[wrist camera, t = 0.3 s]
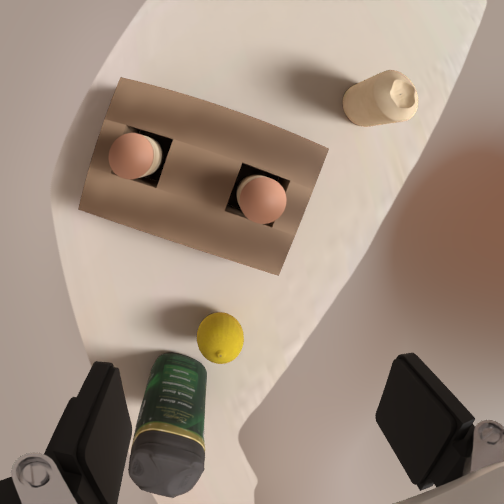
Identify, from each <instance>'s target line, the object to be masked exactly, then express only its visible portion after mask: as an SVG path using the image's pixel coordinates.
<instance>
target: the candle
mask: <svg viewBox="0 0 504 504" xmlns="http://www.w3.org/2000/svg"><path fill="white" fill-rule="evenodd" d="M417 107H418V95H417V91H416V89H415V87H414V85H413V83H412V82H411V81H410V79H409V78H408V77H406V76H405V75H404V74H402V73H400V72H398V71H394V70H388V71H384V72H382V73H379V74H377V75H375V76H373V77H371V78H368V79H366V80H364V81H362V82H360V83H358V84H355V85H354V86H352V87H350V88H349V89H348V90H347V91H346V92H345V94H344V97H343V109H344V112H345V114H346V116H347V117H348V118H349V119H350V120H351V121H352V122H353V123H355V124H356V125H359V126H364V127H368V126H375V125H382V124H389V123H396V122H403V121H407V120H409V119H410V118H412V117H413V116H414V114H415V113H416V110H417Z"/></svg>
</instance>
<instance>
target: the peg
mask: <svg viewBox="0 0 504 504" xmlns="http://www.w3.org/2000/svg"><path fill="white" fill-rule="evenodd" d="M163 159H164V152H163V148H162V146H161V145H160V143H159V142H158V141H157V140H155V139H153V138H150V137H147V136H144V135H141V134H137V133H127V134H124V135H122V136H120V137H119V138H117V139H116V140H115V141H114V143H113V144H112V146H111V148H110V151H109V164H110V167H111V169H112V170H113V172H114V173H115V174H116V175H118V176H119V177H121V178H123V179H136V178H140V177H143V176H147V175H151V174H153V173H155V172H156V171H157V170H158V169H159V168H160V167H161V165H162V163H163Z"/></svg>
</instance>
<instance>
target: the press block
mask: <svg viewBox="0 0 504 504" xmlns="http://www.w3.org/2000/svg"><path fill="white" fill-rule="evenodd" d="M140 130H142V131H145V132H149V133H152V134H155V135H159V136H162V137H165V138H168V139H172V140H173V142H172V144H171V147H170V150H169V153H168V155H167V158H166V161H165V164H164V167H163V170H162V173H161V176H160V179H159V181H156V180H153V179H150V178H147V177H144V176H143V177H140V178H136V179H123V178H121V177H119V176H118V175H116V174H115V173H114V172H113V170H112V169H111V167H110V164H109V151H110V148H111V146H112V144H113V143H114V141H115V140H116V139H117V138H119V137H120V136H122V135H124V134H127V133H137V134H139V132H140ZM328 150H329V149H328V148H326V147H324V146H322V145H320V144H317V143H315V142H313V141H310V140H308V139H306V138H303V137H301V136H299V135H296V134H294V133H292V132H289V131H287V130H284V129H282V128H279V127H277V126H274V125H272V124H269V123H267V122H264V121H261V120H259V119H256V118H253V117H251V116H248V115H245V114H243V113H240V112H237V111H234V110H231V109H228V108H226V107H223V106H220V105H217V104H214V103H211V102H208V101H204V100H201V99H198V98H195V97H192V96H189V95H185V94H182V93H179V92H175V91H172V90H168V89H165V88H161V87H157V86H154V85H150V84H146V83H142V82H138V81H134V80H130V79H126V78H122V77H121V78H120V80H119V82H118V85H117V87H116V90H115V92H114V95H113V98H112V100H111V103H110V105H109V108H108V111H107V114H106V116H105V119H104V122H103V125H102V128H101V131H100V134H99V137H98V140H97V143H96V146H95V149H94V153H93V156H92V159H91V163H90V166H89V170H88V173H87V177H86V180H85V184H84V188H83V192H82V196H81V200H80V204H79V210H82V211H85V212H87V213H90V214H93V215H96V216H99V217H102V218H105V219H108V220H111V221H114V222H117V223H120V224H123V225H126V226H129V227H132V228H134V229H137V230H140V231H143V232H146V233H149V234H152V235H155V236H158V237H161V238H164V239H167V240H170V241H173V242H176V243H179V244H182V245H185V246H188V247H191V248H195V249H198V250H201V251H204V252H207V253H210V254H213V255H216V256H219V257H222V258H225V259H228V260H231V261H234V262H237V263H240V264H244V265H247V266H250V267H253V268H256V269H259V270H262V271H265V272H268V273H271V274H275V275H278V276H279V273H280V271H281V269H282V266H283V264H284V261H285V259H286V256H287V254H288V252H289V249H290V247H291V244H292V242H293V239H294V237H295V234H296V232H297V229H298V227H299V224H300V222H301V219H302V217H303V214H304V212H305V209H306V207H307V204H308V202H309V199H310V197H311V194H312V192H313V189H314V186H315V184H316V181H317V179H318V176H319V173H320V171H321V168H322V166H323V163H324V160H325V158H326V155H327V153H328ZM242 164H245V165H248V166H251V167H253V168H256V169H259V170H261V171H264V172H267V173H269V174H272V175H275V176H277V177H279V179H278V181H277V182H278V183H279V184H280V185H281V186H282V187H283V189H284V191H285V194H286V207H285V210H284V212H283V213H282V215H281V216H280V217H279V218H278V219H276V220H275V221H273V222H271V223H267V224H259V223H255V222H253V221H251V220H249V219H248V218H247V217H246V216H245V215H244V213H243V212H242V210H241V209H239V208H237V207H234V206H231V205H228V204H227V203H228V200H229V197H230V194H231V192H232V189H233V186H234V184H235V181H236V178H237V176H238V173H239V170H240V168H241V165H242Z"/></svg>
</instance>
